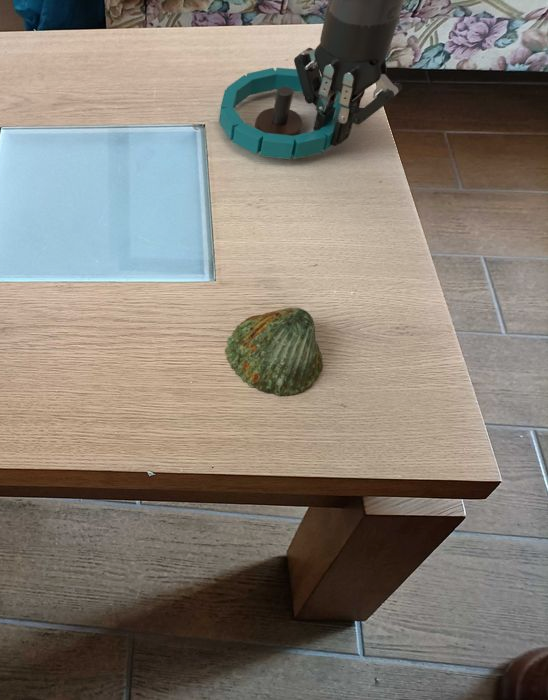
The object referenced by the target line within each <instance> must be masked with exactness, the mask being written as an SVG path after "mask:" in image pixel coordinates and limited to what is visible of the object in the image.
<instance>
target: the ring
mask: <svg viewBox="0 0 548 700" xmlns="http://www.w3.org/2000/svg"><path fill="white" fill-rule="evenodd" d="M321 78H322V76H321ZM280 87H289V88H291V89H292V90H293V92H297V93H300V94H303V91H302V87H301V84H300V80H299V77H298V73H297V70H296V68H286V67H276V69H275V68H273V67H270V68H264V69H261V70H256V71H252V72H247V73H246V75H245V74H244V75H242V76H240V77H239V78H238V79H236V80H235V81H234V82H232V83H231V84H230V85H228V86H227V87H226V89H224V91H223V96H222V100H221V104H220V109H219V120H218V122H219V125H220V127H221V129H222V130H223V132H224V133H225V135H226V136H227V138H228V140H229V141H232V143H233V144H234V145H236V146H238V147H239V148H242V149H244V150H246V151H248V152H250V153H252V154H254V155H258V154H259V156H260V157H266V158H267V157H268V158H277V159H285V160H291V159H292V158H293V159H294V160H296V159H301V158H304V157H308V156H313V155H317V154H321V153H323V151H328V150H329V149H330V148H331V147H332V145H330V143H331V139H332V135H333V130H334V127H335V123H336V121H337V120H338V115H339V111H340V106H341V105H339V101H340V97H341V93H340V92H339V93H338V96H337V100H336V102H335V104H334V105H333V107H335V108H336V109H335V112H334V116H333V119H332V120H331V121H330V122H328V123H327V124H326V125H325V126H324V127H322V128H321V129H320V130H316V131H314V130H312V131H308V132H303V133H299V135H295V136H291V135H281V134H272V133H265V132H263V131H261V130H258V129H256V127H254V126H252V125H250V124H249V123H246V122H245V121H243V119H242V118H241V117H240V115H239V114H238V112H237V110H236V109H235V108H236V107H237V106H238V105H239V104H241V103H242V102H243V101H244V100H247V98H248V97H250V96H253V95H256V94H257V95H258V94H261V93H265V92H266V93H267V92H270V91H277V90H278V89H279V88H280ZM312 87H313V86H312Z"/></svg>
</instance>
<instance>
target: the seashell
mask: <svg viewBox="0 0 548 700" xmlns="http://www.w3.org/2000/svg"><path fill="white" fill-rule="evenodd" d="M226 343H227V346H226V347H225V349H224V351H225V354H226V359H227V361H228V363H229V366H230V368H231V369H232V370H234V371H235V374H236V375H237V376H238V377H240V378H241V379H242V381H243V382H244V383H247V385H248V386H250V387H251V388H256V389H257V390H258V391H261V392H264V393H265V394H273V395H275V396H279V397H281V396H285V397H287V396H292V395H297V394H300V393H302V392H305V391H306V390H308V389H309V388H311V387H312V386H313V385H314V384H315V382H316V381H317V380H318V378H319V377H320V375H321V373H322V371H323V368H324V362H323V356H322V355H323V354H322V352H321V350H320V347H319V343H318V342H317V341H316V328H315V322H314V318H313V316H312V315H311V314H310V313H309V312H308V311H307V310H305V309H303V308H300V307H285V308H279V309H277V310H273V311H270V312H266V313H263V314H257V315H256V314H255V315H251V316H248V317H247V318H245V320H244V321H242V322H240V323H239V324H237V325H236V328H235V329H234V330H233V331H232V333H231V335H230V336H229V337H228V338H227V342H226Z"/></svg>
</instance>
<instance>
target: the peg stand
mask: <svg viewBox="0 0 548 700" xmlns="http://www.w3.org/2000/svg"><path fill="white" fill-rule="evenodd" d="M293 96H294V91H293V90H292V89H291V88H289V87H280V88H279V89H278V90H276V95H275V101H274V106H273V107H270V108H267V109H264V110H262V111H261V112H260V113H259V114H258V115H257V117H256V121H255V128H256V129H258V130H261V131H263V132H265V133H272V134H281V135H291V136H295V135H299V134H301V131H302V128H303V117H301V115H300V114H299V113H297V112H296V111H294V110H292V109H291V105H292V101H293Z"/></svg>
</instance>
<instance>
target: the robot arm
mask: <svg viewBox="0 0 548 700" xmlns="http://www.w3.org/2000/svg"><path fill="white" fill-rule="evenodd" d="M404 3H405V0H328V2H327V6H326V10H325V16H324V19H323V24H322V28H321V33H320V39H319V44H318V45H317V46H316V47H315V48H312V47H307V48H306V49H305V50H303V51H301V52H300V53H298V55H296V56H295V57H294V58H293V63H294V66H295V69H296V70H297V73H298V77H299V80H300V84H301V87H302V91H303V93H302V95H303V98H304V101H305V102H306V103H307V104H308V105H311V104H313V105H314V106H315V110H316V115H315V120H314V126H313V131H316V130H320V129H321V128H322V127H324V126H325V125H326V124H327V123H328V122H330V121H331V120H332V119H333V116H334V112H335V109H336V108H335V107H333V105H334V104H335V102H336V100H337V96H338V93H339V92H340V93H341V97H340V101H339V105H341V106H340V111H339V115H338V120H337V121H336V123H335V127H334V130H333V135H332V139H331V143H330V145H332V146H333V147H335V148H336V147H337V146H338V145H342V144H343V143H344V142H345V141H347V139H348V138H349V137H350V134H351V131H352V128H353V124H354V125H356V126H359V125H361V124H362V123H364V122H365V121H366V120H367V119H369V118H370V117H371V116H372V115H374V114H375V113H376V112H378V111H379V110H380V109H382V108H383V107H384V106H386V105H387V104H388V103H389V102H391V100H393V99H394V98H395V97H396V96H398V94H400V93H401V92H402V91H403V86H402V83H400V82H394V83H393V82H392V81H391V79H389V77H388V76H387V71H388V70H387V68H388V67H387V62H386V61H387V56H388V53H389V51H390V48H391V46H392V41H393V39H394V37H395V36H394V35H395V32H396V29H397V26H398V23H399V20H400V16H401V13H402V11H403V7H404ZM321 76H322V78H321ZM374 84H375V87H376V88H375V89H374V90H373V95H372V98H373V100H371V101H370V102H369V103H368V104H366V105H365V106H364V107H362V106H361V107H360V105H361V102H362V101H361V100H362V98H363V97H364V95H365V92H366V90H367V89H369V88H371V87H372V86H373V85H374ZM312 86H313V87H312ZM332 146H331V147H332Z"/></svg>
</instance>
